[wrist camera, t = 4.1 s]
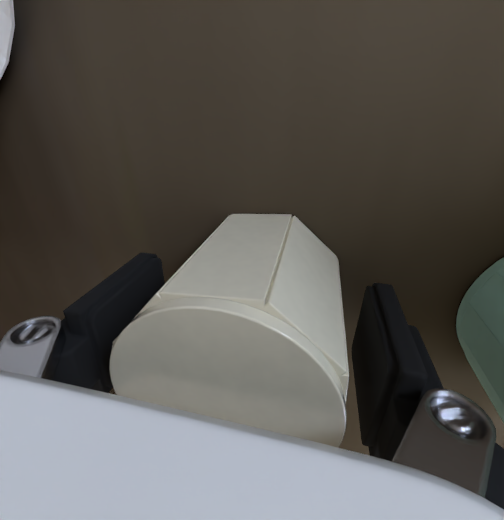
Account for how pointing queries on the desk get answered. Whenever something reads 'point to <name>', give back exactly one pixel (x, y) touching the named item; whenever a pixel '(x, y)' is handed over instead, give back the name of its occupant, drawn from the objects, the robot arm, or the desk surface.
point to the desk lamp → (6, 32)
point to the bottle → (485, 331)
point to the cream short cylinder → (245, 333)
